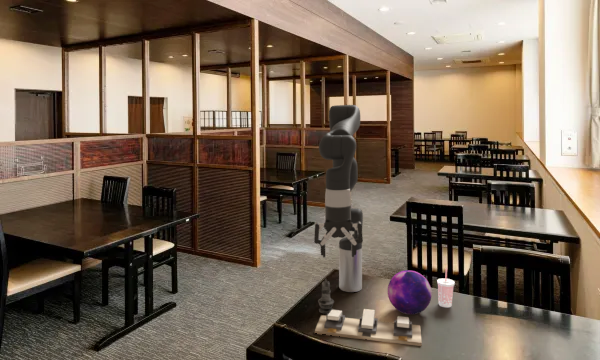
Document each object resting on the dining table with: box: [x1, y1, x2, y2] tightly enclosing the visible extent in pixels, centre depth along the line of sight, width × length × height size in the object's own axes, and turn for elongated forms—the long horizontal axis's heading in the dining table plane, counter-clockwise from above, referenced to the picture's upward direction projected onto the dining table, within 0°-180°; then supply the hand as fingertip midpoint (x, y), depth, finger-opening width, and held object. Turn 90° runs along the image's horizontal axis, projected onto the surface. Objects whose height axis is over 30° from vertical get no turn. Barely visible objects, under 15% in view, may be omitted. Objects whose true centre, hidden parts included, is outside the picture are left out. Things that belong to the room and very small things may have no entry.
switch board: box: [314, 313, 423, 347], centre depth 131 cm, size 11×33×4 cm, turn 75°
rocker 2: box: [361, 308, 376, 329], centre depth 132 cm, size 8×4×1 cm, turn 165°
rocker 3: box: [396, 315, 410, 328], centre depth 129 cm, size 8×4×1 cm, turn 166°
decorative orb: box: [387, 270, 433, 315], centre depth 143 cm, size 15×15×15 cm
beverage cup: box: [436, 267, 456, 308], centre depth 148 cm, size 6×6×14 cm
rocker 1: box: [327, 309, 343, 320], centre depth 135 cm, size 8×4×1 cm, turn 166°
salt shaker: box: [317, 278, 335, 315], centre depth 145 cm, size 6×6×12 cm
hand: (338, 256), depth 121 cm, fingers open, 8 cm apart
